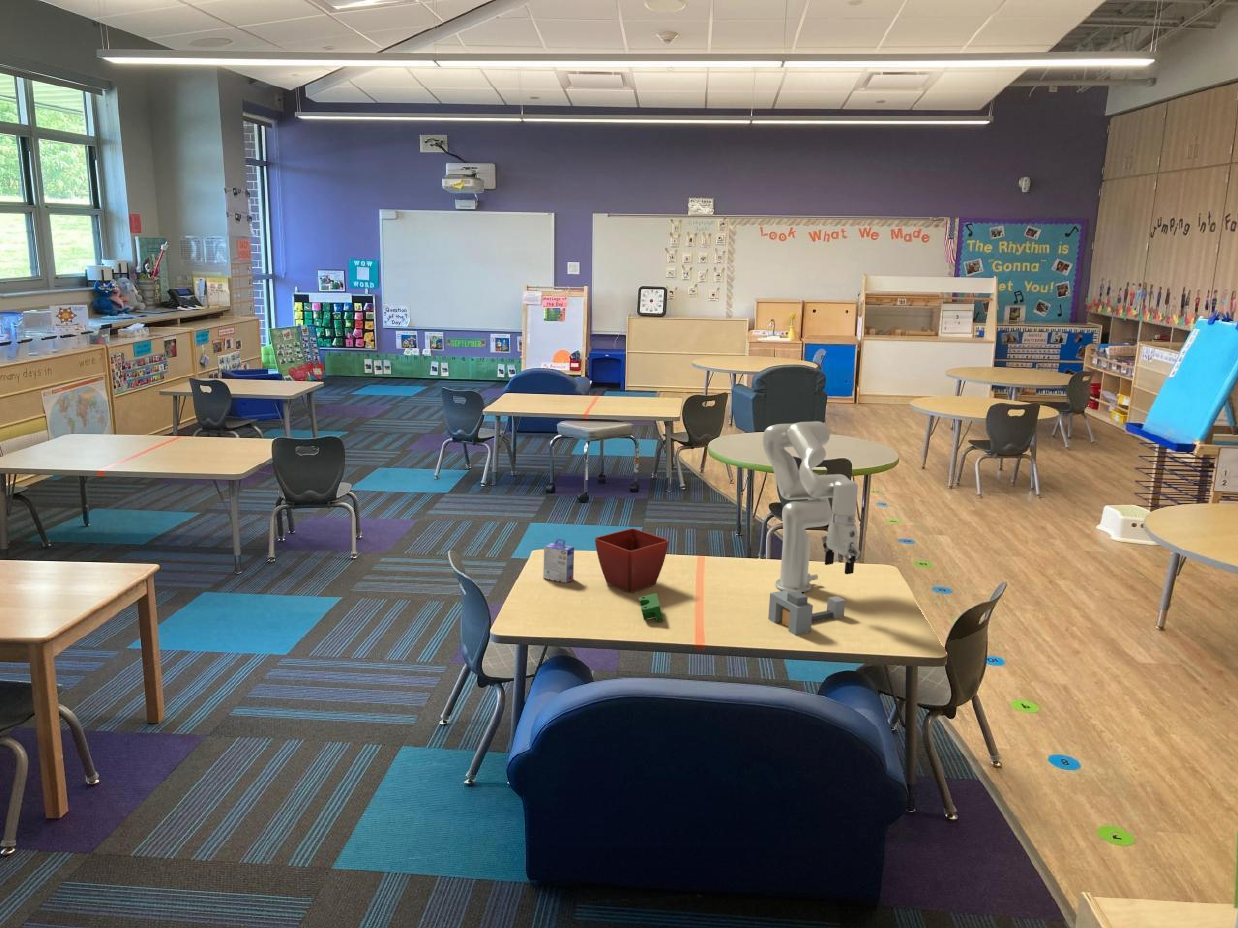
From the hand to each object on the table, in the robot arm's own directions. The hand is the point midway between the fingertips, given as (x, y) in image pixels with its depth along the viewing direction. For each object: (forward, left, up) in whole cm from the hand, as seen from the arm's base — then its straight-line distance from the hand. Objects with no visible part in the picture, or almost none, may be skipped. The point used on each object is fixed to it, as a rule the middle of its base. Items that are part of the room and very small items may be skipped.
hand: (838, 568), depth 303 cm
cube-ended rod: (+9, 0, -16) cm, 19 cm away
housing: (+19, 0, -16) cm, 25 cm away
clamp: (+56, -25, -17) cm, 63 cm away
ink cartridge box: (+69, -68, -17) cm, 98 cm away
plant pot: (+48, -53, -17) cm, 73 cm away
